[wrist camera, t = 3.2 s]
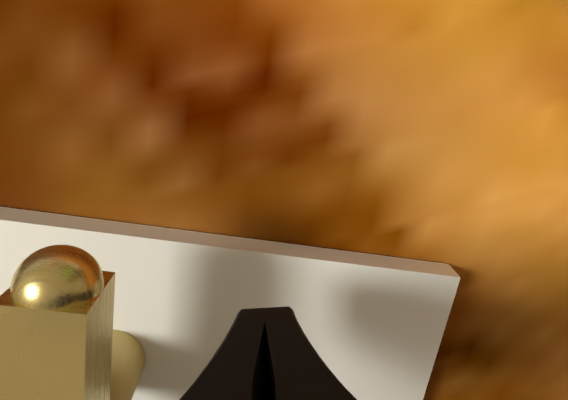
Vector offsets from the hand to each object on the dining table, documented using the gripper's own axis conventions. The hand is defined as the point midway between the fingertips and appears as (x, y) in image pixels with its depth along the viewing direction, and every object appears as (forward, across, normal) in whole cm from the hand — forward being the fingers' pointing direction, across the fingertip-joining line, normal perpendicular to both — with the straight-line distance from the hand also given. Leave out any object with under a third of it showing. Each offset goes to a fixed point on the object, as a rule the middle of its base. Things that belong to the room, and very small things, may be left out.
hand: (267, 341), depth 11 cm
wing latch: (0, +5, 0) cm, 5 cm away
